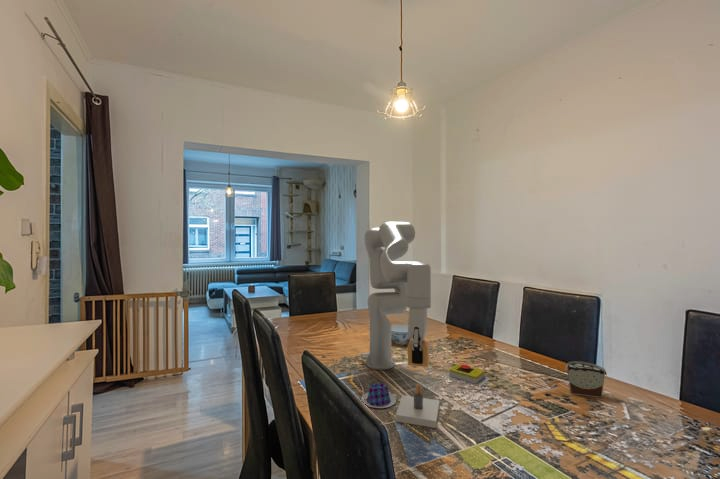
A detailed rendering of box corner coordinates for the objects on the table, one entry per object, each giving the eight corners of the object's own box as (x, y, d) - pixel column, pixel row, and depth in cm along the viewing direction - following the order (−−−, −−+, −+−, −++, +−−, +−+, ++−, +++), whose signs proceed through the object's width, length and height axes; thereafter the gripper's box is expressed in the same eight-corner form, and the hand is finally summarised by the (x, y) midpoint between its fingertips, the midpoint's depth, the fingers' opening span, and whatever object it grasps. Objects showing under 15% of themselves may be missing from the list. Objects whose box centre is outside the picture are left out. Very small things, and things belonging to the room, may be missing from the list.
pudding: (386, 390, 119) (386, 376, 119) (402, 406, 108) (402, 390, 108) (355, 396, 115) (355, 381, 115) (369, 413, 104) (369, 396, 104)
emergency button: (455, 359, 140) (491, 368, 130) (455, 369, 140) (491, 379, 130) (445, 365, 133) (482, 375, 123) (445, 376, 133) (482, 387, 123)
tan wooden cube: (407, 364, 101) (407, 345, 101) (410, 358, 107) (410, 339, 107) (427, 367, 99) (427, 347, 99) (429, 360, 105) (429, 341, 105)
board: (395, 421, 99) (395, 391, 99) (402, 401, 111) (402, 374, 111) (436, 428, 95) (436, 397, 95) (439, 406, 108) (439, 379, 108)
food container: (600, 390, 119) (600, 363, 119) (606, 398, 113) (606, 369, 113) (561, 385, 123) (561, 359, 123) (565, 392, 117) (566, 365, 117)
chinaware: (381, 340, 179) (381, 326, 179) (405, 337, 185) (405, 323, 185) (396, 348, 165) (396, 333, 165) (420, 344, 172) (420, 329, 172)
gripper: (410, 297, 113) (410, 350, 112) (402, 306, 96) (402, 368, 96) (433, 298, 110) (433, 352, 110) (428, 308, 94) (428, 371, 94)
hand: (418, 359), depth 103 cm, fingers closed on tan wooden cube, 5 cm apart
